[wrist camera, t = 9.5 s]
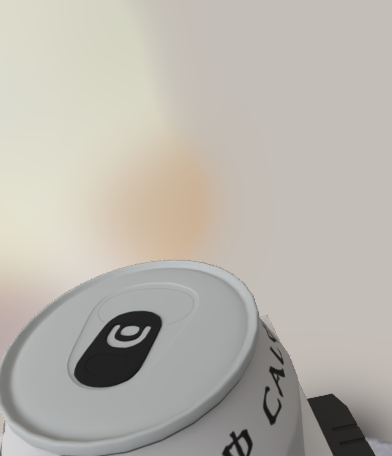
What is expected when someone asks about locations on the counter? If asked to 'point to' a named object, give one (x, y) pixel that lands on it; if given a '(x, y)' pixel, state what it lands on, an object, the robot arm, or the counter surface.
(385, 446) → the counter surface
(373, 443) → the counter surface
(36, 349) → the energy drink can
